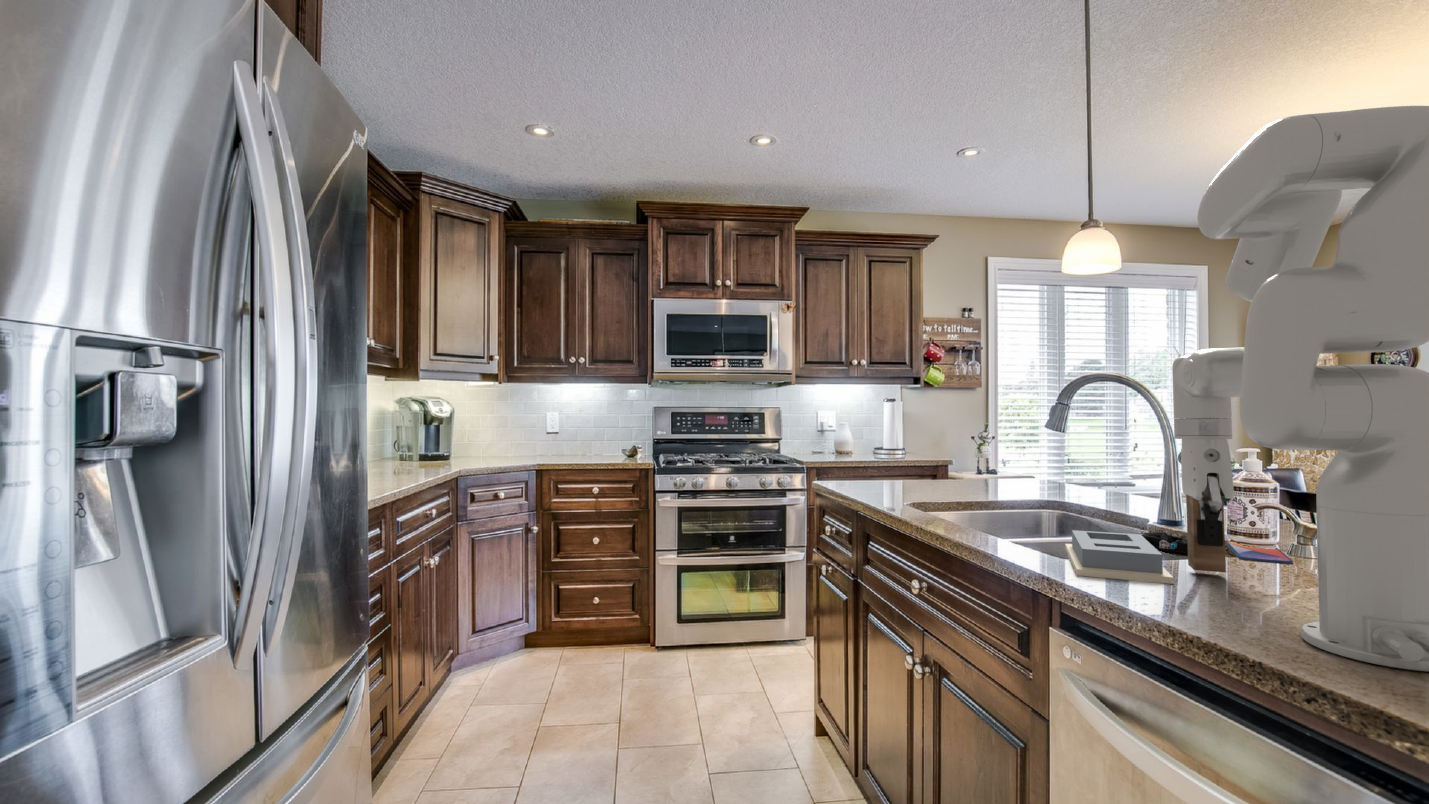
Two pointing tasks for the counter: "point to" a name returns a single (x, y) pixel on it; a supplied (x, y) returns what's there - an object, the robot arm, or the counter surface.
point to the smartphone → (1258, 553)
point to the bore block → (1116, 557)
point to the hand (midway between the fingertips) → (1205, 541)
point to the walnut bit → (1200, 554)
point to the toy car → (1167, 542)
